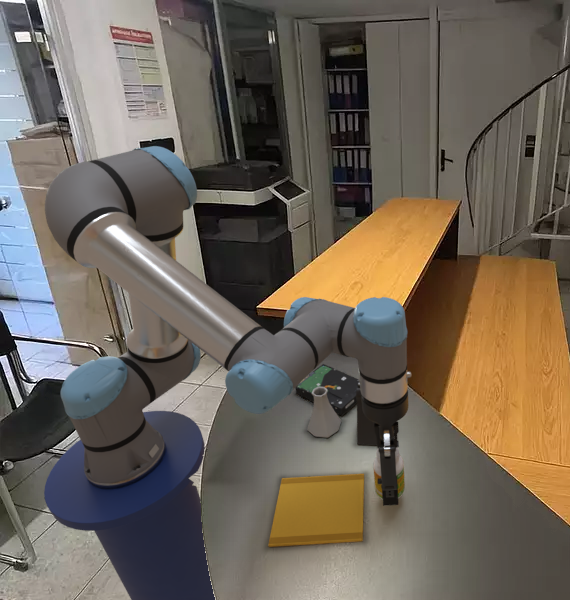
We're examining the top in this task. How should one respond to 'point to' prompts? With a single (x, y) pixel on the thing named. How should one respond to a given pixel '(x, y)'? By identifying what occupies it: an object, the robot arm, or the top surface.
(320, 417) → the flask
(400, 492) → the supplement bottle
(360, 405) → the phone stand
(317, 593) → the top surface
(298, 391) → the disk drive
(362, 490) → the yellow tray
